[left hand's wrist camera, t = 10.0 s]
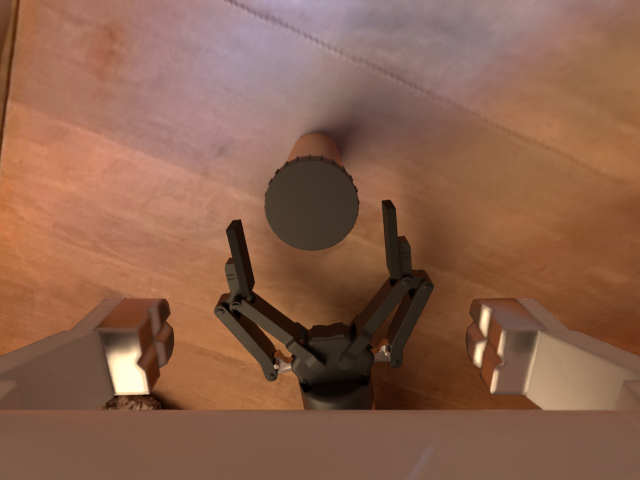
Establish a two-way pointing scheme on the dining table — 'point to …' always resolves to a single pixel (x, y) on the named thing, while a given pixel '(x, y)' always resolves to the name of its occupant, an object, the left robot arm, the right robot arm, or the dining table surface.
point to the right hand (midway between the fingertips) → (310, 213)
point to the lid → (311, 203)
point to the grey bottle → (315, 147)
